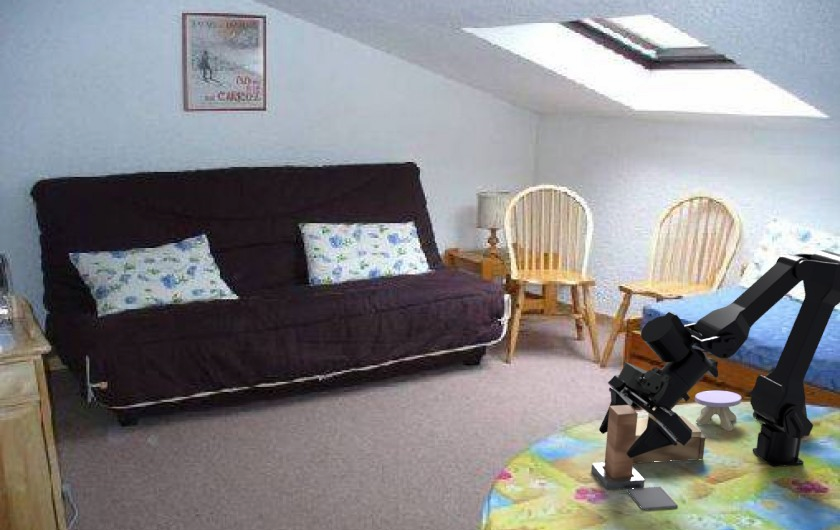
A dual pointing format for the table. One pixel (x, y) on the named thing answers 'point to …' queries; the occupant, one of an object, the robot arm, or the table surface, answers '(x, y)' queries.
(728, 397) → the toy table
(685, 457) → the tan boxy piece
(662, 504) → the felt pad
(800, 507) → the table surface
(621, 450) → the brown rectangular block
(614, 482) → the socket
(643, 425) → the lid
